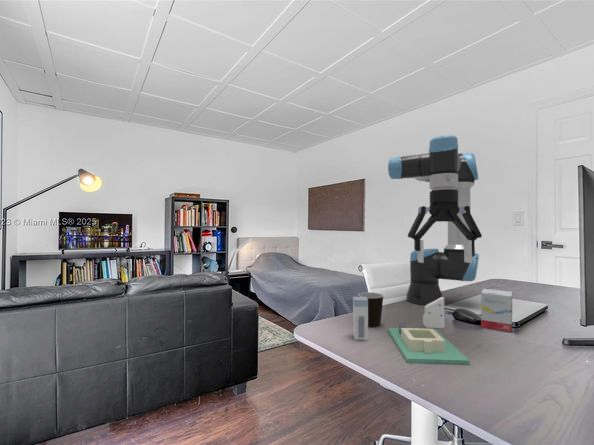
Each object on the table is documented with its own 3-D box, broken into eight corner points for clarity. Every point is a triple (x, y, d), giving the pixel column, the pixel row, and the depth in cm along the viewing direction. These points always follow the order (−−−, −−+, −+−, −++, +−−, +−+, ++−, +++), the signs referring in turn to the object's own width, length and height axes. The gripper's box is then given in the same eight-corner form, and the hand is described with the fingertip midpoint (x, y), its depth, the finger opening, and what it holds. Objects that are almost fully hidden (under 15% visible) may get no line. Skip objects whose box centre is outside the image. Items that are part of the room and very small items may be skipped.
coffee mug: (386, 328, 99) (386, 298, 99) (360, 328, 99) (360, 298, 99) (377, 317, 111) (377, 290, 111) (354, 317, 111) (354, 290, 111)
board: (387, 331, 97) (387, 318, 97) (435, 332, 95) (435, 319, 95) (407, 362, 75) (406, 346, 75) (469, 364, 73) (469, 348, 73)
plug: (353, 334, 94) (352, 296, 94) (366, 335, 93) (366, 296, 93) (354, 340, 89) (354, 300, 89) (368, 340, 89) (368, 300, 89)
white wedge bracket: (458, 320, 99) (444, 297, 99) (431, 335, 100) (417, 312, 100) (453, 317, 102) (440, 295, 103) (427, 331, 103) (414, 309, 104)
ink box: (512, 332, 94) (511, 295, 94) (480, 327, 100) (480, 291, 100) (512, 325, 101) (512, 290, 101) (483, 320, 106) (482, 287, 107)
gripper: (404, 188, 84) (405, 263, 84) (495, 187, 83) (496, 264, 83) (396, 191, 92) (397, 260, 91) (479, 191, 91) (480, 260, 90)
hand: (444, 262), depth 87 cm, fingers open, 13 cm apart
